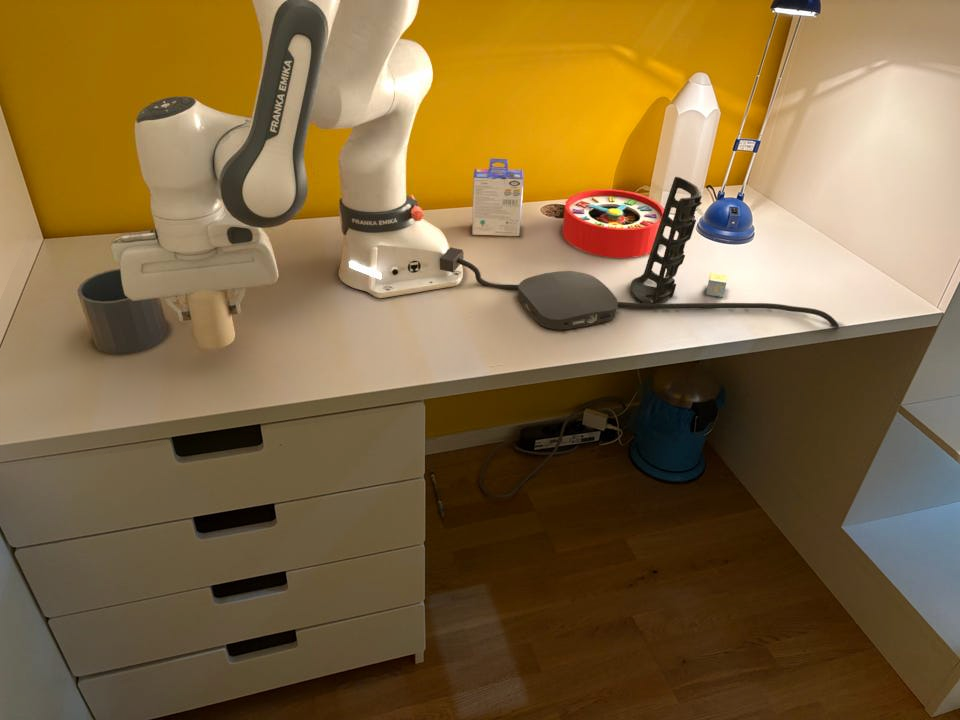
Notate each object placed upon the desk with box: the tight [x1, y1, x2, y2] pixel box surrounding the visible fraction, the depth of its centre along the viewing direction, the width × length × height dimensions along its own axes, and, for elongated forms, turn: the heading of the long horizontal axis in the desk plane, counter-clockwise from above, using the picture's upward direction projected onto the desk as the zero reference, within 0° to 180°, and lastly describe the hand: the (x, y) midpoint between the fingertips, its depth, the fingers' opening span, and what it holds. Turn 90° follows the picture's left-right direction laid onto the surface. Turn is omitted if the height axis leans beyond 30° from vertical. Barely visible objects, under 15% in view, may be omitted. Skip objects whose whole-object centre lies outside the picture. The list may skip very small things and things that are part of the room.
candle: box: [184, 290, 236, 350], centre depth 104 cm, size 6×6×10 cm
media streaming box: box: [517, 270, 619, 331], centre depth 124 cm, size 15×15×3 cm
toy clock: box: [561, 188, 665, 259], centre depth 147 cm, size 20×6×20 cm
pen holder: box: [77, 268, 168, 355], centre depth 111 cm, size 11×11×9 cm
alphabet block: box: [705, 272, 728, 298], centre depth 129 cm, size 3×3×3 cm
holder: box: [629, 176, 703, 304], centre depth 124 cm, size 11×8×20 cm
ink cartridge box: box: [471, 158, 524, 237], centre depth 145 cm, size 10×6×14 cm, turn 89°
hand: (211, 315), depth 104 cm, fingers closed on candle, 5 cm apart
